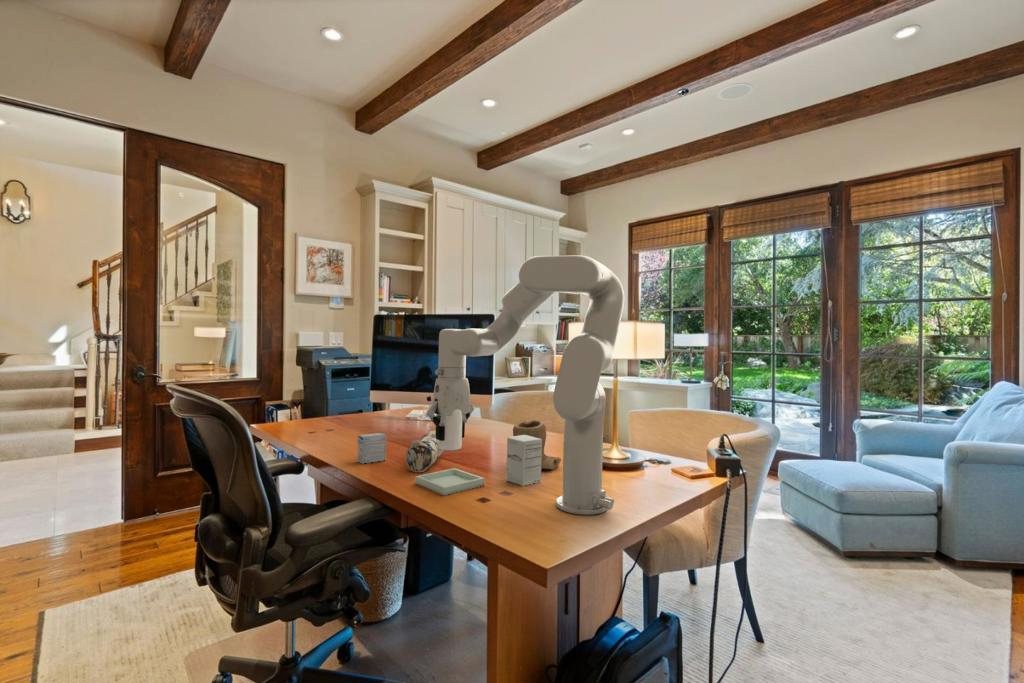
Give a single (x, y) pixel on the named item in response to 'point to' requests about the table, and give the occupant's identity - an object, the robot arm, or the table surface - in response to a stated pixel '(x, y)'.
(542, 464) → the brown boot
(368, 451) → the medicine box
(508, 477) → the supplement box
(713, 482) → the table surface
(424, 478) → the tray
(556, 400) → the robot arm
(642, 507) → the table surface
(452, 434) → the can
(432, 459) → the pencil case
